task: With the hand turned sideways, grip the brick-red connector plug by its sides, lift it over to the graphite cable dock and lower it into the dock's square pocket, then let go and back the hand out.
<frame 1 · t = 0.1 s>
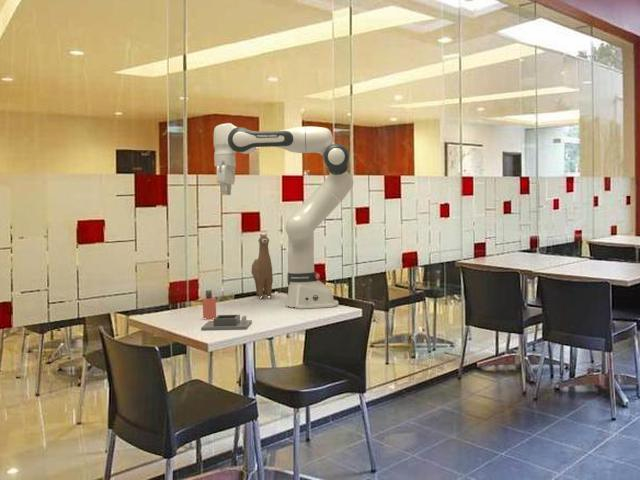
hand: (226, 195, 261), 48 cm above the table, tool pointing down, fingers open, 8 cm apart
dock: (227, 326, 221), on the table
plug: (209, 318, 238), on the table
toy: (264, 297, 288), on the table
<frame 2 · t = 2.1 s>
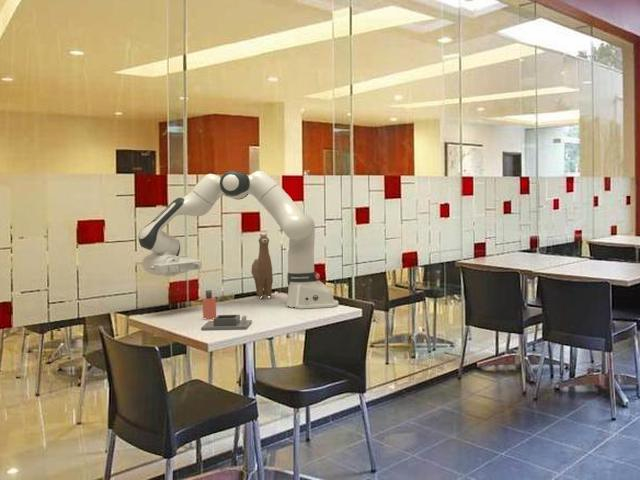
hand: (188, 267, 245), 19 cm above the table, tool horizontal, fingers open, 8 cm apart
nothing on the table moved.
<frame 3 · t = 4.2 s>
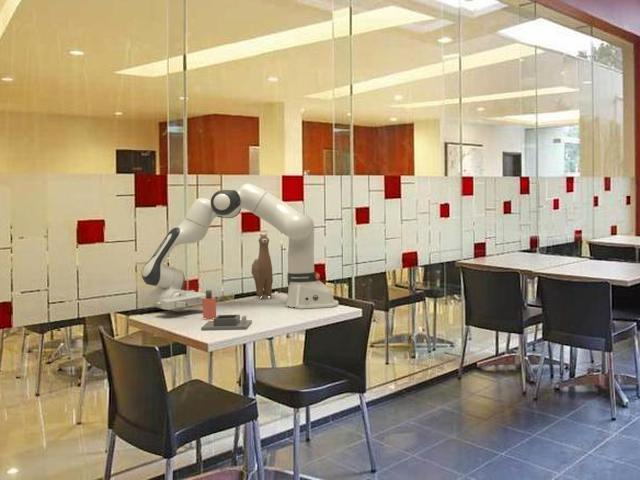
hand: (196, 303, 244), 5 cm above the table, tool horizontal, fingers open, 8 cm apart
nothing on the table moved.
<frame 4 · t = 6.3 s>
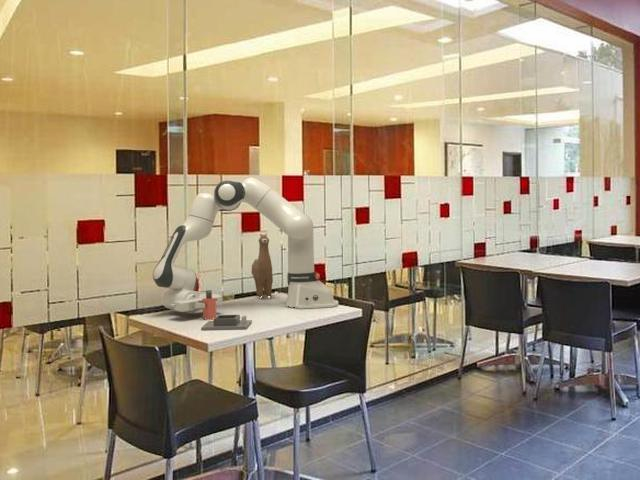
hand: (210, 304, 237), 6 cm above the table, tool horizontal, fingers closed on plug, 4 cm apart
plug: (209, 318, 238), on the table, touching gripper
everything else where it was.
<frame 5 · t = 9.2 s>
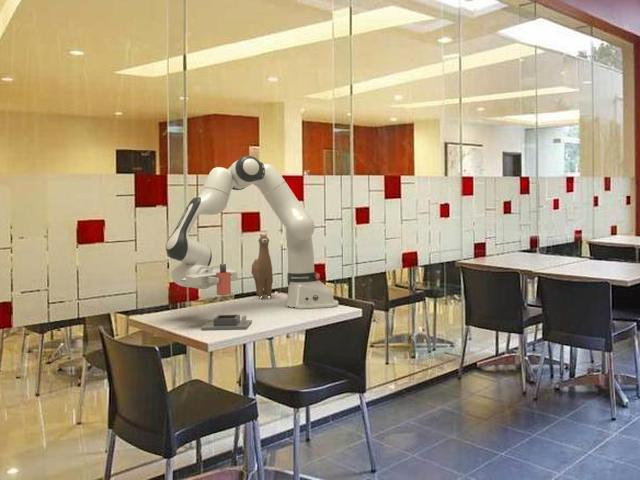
hand: (224, 279, 221), 17 cm above the table, tool horizontal, fingers closed on plug, 4 cm apart
plug: (223, 294, 222), point 11 cm above the table, touching gripper
everything else where it was.
when the fingers open (8 cm above the table, at t = 11.8 s): plug drops 1 cm, resting on dock.
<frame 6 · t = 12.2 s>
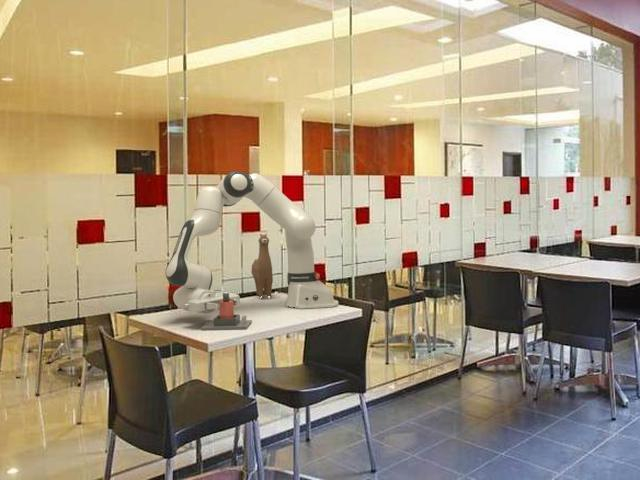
hand: (227, 304, 220), 8 cm above the table, tool horizontal, fingers open, 7 cm apart
plug: (227, 323, 221), point 1 cm above the table, touching dock
everything else where it was.
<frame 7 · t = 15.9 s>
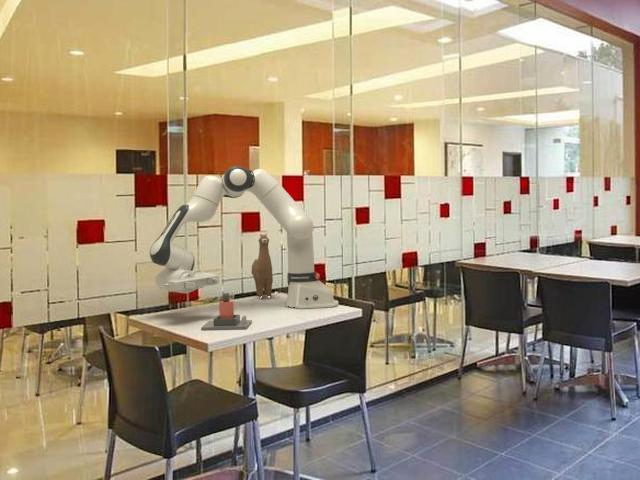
hand: (206, 283, 229), 15 cm above the table, tool horizontal, fingers open, 8 cm apart
nothing on the table moved.
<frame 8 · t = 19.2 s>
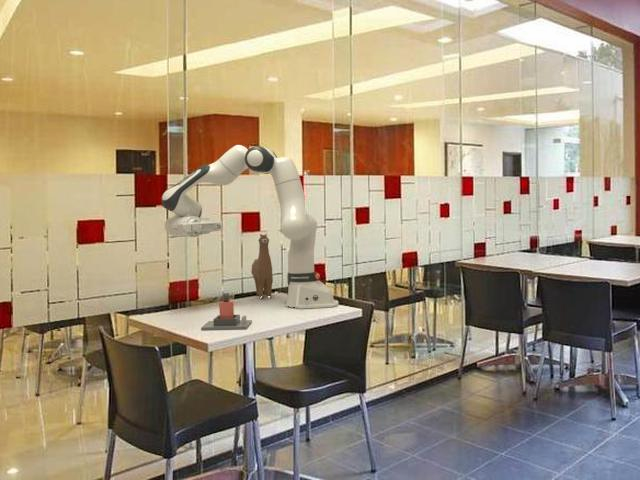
hand: (211, 226, 251), 35 cm above the table, tool horizontal, fingers open, 8 cm apart
nothing on the table moved.
at the end: plug 0.0 cm off-centre on the dock, point 1.0 cm above the dock's base; plug tilted 0°; the gripper is holding nothing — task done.
